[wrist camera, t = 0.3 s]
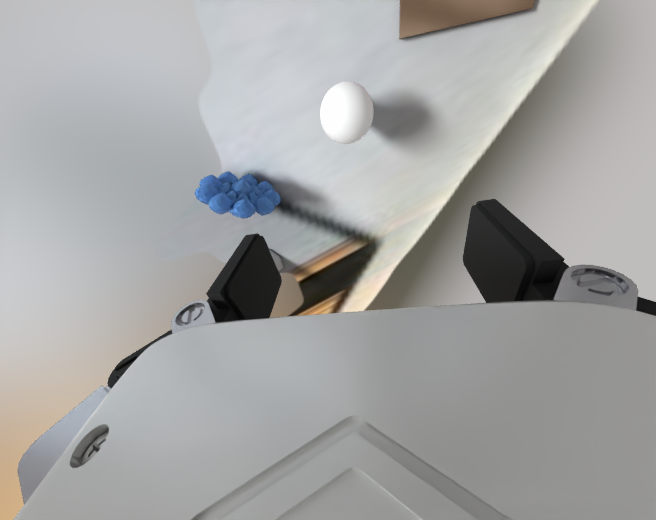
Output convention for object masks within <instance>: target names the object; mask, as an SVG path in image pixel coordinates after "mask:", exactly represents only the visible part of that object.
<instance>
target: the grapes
mask: <svg viewBox="0 0 656 520" xmlns="http://www.w3.org/2000/svg"><path fill="white" fill-rule="evenodd" d="M195 195H196V198H197V199H198V200H199V201H201V202H203V203H205V204H207V205H209V207H210V209H211V210H213V211H214V212H216V213H218V214H224V213H226V212H229V211H230V213H231V214H232V215H234V216H236V217H240V218H243V219H244V218H248V217H250V216H252V215H253V214H254V213H255V211H256V212H257V213H258V214H260V215H267V214H269V213H271V212H272V211H273V210H274V207H275V206H276V205H278V204H279V203H280V201H281V198H280V195H279V194H278V193H277V192H276V191H274V188H273V186H272V185H271V184H270V183H269V182H267V181H264V182H261V183H259V184H258V181H257V180H256V179H255V178H254V177H253V176H252V175H251V174H248V175H245V176H243V177H242V178H240V179H239V180H238V178H237V177H236V176H235V175H233V174H232V173H231V172H226V173H223V174H221V175H220V176H219V177H218V178H217V177H215V176H213V175H209V176H207V177H205V178H203V179H202V180H201V182H200V187H198V188H197V189H196V191H195Z"/></svg>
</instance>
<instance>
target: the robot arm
mask: <svg viewBox="0 0 656 520" xmlns="http://www.w3.org/2000/svg"><path fill="white" fill-rule="evenodd" d="M563 261H564V258H563V257H562V256H561V255H559V254H558V253H557V252H556V251H555V250H553V249H552V248H551V247H550V246H549V245H548V244H547V243H545V242H544V241H543V240H542V239H541V238H540V237H538V236H537V235H536V234H535V233H534V232H533V231H532V230H530V229H529V228H528V227H527V226H526V225H525V224H524V223H522V222H521V221H520V220H519V219H518V218H517V217H515V216H514V215H513V214H512V213H511V212H510V211H508V210H507V209H506V208H505V207H504V206H502V204H500V203H499V202H498V201H497V200H496V199H491V200H484V201H478V202H477V204H476V205H474V206H472V208H471V213H470V218H469V224H468V231H467V237H466V242H465V248H464V254H463V262H464V265H465V267H466V269H467V270H468V272H469V274H470V276H471V277H472V279H473V281H474V282H475V284H476V286H477V287H478V289H479V291H480V293H481V294H482V296H483V298H484V299H485V301H486V303H477V304H462V305H447V306H431V307H416V308H402V309H388V310H375V311H374V310H373V311H359V312H345V313H331V314H317V315H303V316H289V317H276V318H269V317H270V314H271V312H272V309H273V306H274V303H275V300H276V297H277V294H278V291H279V288H280V285H281V276H280V274H279V271H278V269H277V267H276V264H275V262H274V260H273V258H272V255H271V253H270V251H269V248H268V246H267V244H266V242H265V239H264V237H263V236H260V235H259V234H251V235H246V236H245V237H244V238H243V240H242V241H241V243H240V244H239V246H238V247H237V249H236V250H235V252H234V253H233V255H232V256H231V258H230V259H229V261H228V262H227V264H226V265H225V267H224V268H223V270H222V271H221V273H220V274H219V276H218V277H217V279H216V280H215V282H214V283H213V285H212V286H211V287H210V289H209V290H208V292H207V295H208V297H209V299H208V300H207V301H205V300H197V301H193V302H191V303H189V304H187V305H185V306H184V307H182V308H181V309H180V310H179V311H178V312H177V313H176V314H175V315H174V317H173V319H172V321H171V327H172V330H170V331H168V332H167V333H165V334H164V335H162V336H160V337H159V338H157V339H155V340H154V341H152V342H151V343H149V344H148V345H146V346H144V347H143V348H141V349H139V350H138V351H136V352H135V353H133V354H131V355H130V356H128V357H126V358H125V359H123V360H122V361H121V362H120V363H119V364H118V365H117V366H116V367H115V369H114V370H113V371H112V373H111V375H110V377H109V379H108V386H107V387H104V386H100V387H99V388H98V389H97V390H96V391H94V392H93V393H92V394H91V395H90V396H89V397H87V398H86V399H85V400H84V401H82V402H81V403H80V404H79V405H78V406H76V407H75V408H74V409H73V410H72V411H70V412H69V413H68V414H67V415H66V416H64V417H63V418H62V419H61V420H60V421H58V422H57V423H56V424H55V425H53V426H52V427H51V428H50V429H49V430H47V431H46V432H45V433H44V434H43V435H41V436H40V437H39V438H38V439H37V440H36V441H35V442H34V443H33V444H32V445H31V446H30V447H29V449H28V450H27V451H26V452H25V454H24V455H23V457H22V458H21V460H20V462H19V465H18V476H19V481H20V486H21V491H22V496H23V502H24V506H23V507H22V509H21V510H20V511H19V513H18V514H17V516H16V517H15V518H14V519H13V520H656V302H653V301H650V300H647V299H644V298H640V297H638V289H637V285H636V284H635V283H634V282H633V281H632V280H631V279H629V278H628V277H626V276H625V275H623V274H621V273H619V272H616V271H614V270H611V269H608V268H604V267H600V266H594V265H577V266H572V267H569V266H568V265H566V264H565V263H564V262H563Z"/></svg>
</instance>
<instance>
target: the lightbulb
mask: <svg viewBox="0 0 656 520" xmlns="http://www.w3.org/2000/svg"><path fill="white" fill-rule="evenodd" d="M373 114H374V108H373V102H372V99H371V97H370V95H369V93H368V92H367V91H366V89H365V88H364V87H362V86H361V85H360V84H358V83H355V82H351V81H346V82H341V83H338V84H336V85H335V86H333V87H332V88H331V89H330V90H329V91H328V92H327V94H326V95H325V97H324V99H323V101H322V105H321V110H320V118H321V123H322V126H323V128H324V131H325V132H326V134H327V135H328V136H329V137H330V138H331V139H333V140H334V141H336V142H338V143H342V144H350V143H353V142H356V141H358V140H360V139H361V138H362V137H363V136H364V135H365V134H366V133H367V132H368V130H369V128H370V126H371V124H372V120H373Z"/></svg>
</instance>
